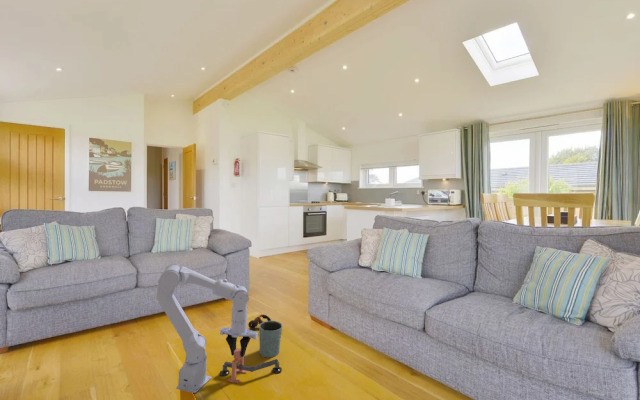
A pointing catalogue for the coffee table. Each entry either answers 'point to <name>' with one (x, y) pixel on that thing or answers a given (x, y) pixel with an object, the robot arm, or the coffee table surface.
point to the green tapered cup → (270, 338)
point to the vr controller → (257, 321)
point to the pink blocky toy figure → (237, 357)
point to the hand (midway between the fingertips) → (238, 354)
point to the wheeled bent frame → (250, 368)
